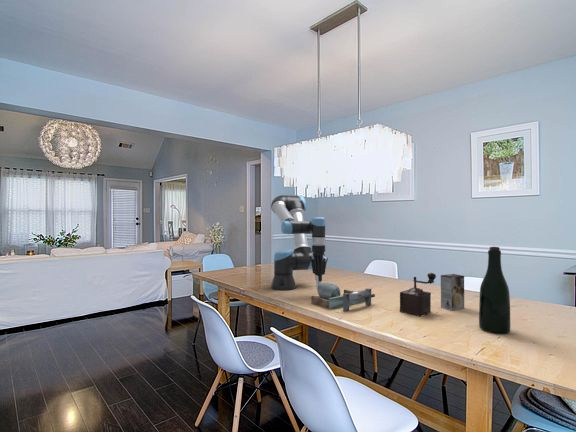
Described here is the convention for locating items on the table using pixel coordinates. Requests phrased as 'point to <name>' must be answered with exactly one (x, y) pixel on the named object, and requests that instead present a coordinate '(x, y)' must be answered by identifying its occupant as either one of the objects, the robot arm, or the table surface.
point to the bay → (333, 301)
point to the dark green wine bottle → (494, 297)
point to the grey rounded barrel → (328, 290)
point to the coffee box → (452, 292)
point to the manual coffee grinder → (416, 299)
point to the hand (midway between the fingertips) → (318, 286)
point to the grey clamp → (355, 296)
